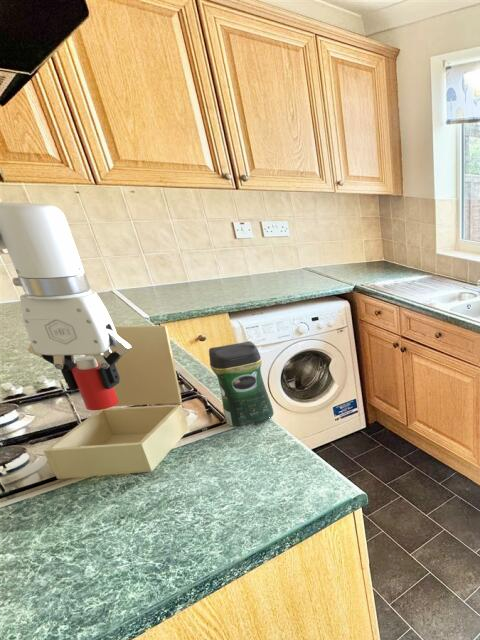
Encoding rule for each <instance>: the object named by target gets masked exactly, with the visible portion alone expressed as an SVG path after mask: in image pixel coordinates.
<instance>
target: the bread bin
mask: <svg viewBox="0 0 480 640" xmlns="http://www.w3.org/2000/svg"><path fill="white" fill-rule="evenodd" d="M189 430H190V426H189V423H188V420H187V417H186V413H185V411H184V406H183V404H164V405H143V406H128V407H127V406H123V407H110V408H107V409H102V410H96V411H95V412H94V413H93V414H91V415H90V416H88V417H87V418H85V420H83V421H82V422H80V423H79V424H78V425H76V426H75V427H73V428H72V429H71V430H69V431H68V432H67V433H66V434H64V435H62V437H60V438H59V439H57V440H55V441H54V442H53V443H52V444H51V445H49V446H48V447H47V448H45V449H43V453H44V456H45V458H46V459H47V461H48V463H49V465H50V467H51V469H52V471H53V474H54V475H55V477H56V479H57V480H63V479H74V478H75V479H76V478H88V477H100V476H101V477H102V476H111V475H125V474H139V473H150V472H151V473H152V472H153V471H154V470H155V469H156V468H157V467H158V465H159V464H160V463H161V462H162V461H163V460H164V459H165V457H166V456H168V454H169V453H170V452H171V450H173V448H174V447H175V446H176V445H177V444H178V442H179V441H180V440H181V439H182V438H183V437H184V435H186V434H187V432H188V431H189Z"/></svg>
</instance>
